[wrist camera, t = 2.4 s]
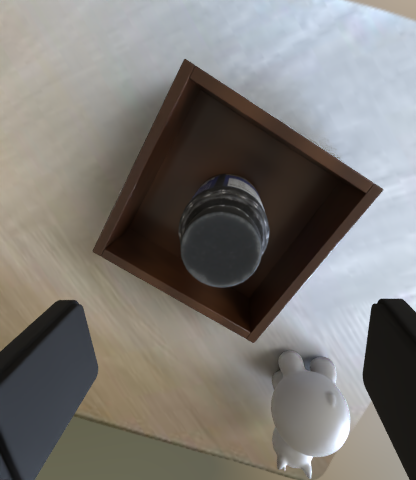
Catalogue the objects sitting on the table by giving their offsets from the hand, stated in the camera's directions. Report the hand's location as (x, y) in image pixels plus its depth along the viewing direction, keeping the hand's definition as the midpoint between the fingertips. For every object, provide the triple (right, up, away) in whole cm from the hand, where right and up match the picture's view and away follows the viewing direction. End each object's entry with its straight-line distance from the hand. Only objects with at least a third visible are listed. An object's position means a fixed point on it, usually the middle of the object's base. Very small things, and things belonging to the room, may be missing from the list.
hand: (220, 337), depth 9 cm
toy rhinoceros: (+9, -14, +25) cm, 30 cm away
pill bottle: (+1, +6, +17) cm, 19 cm away
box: (+1, +7, +18) cm, 19 cm away
